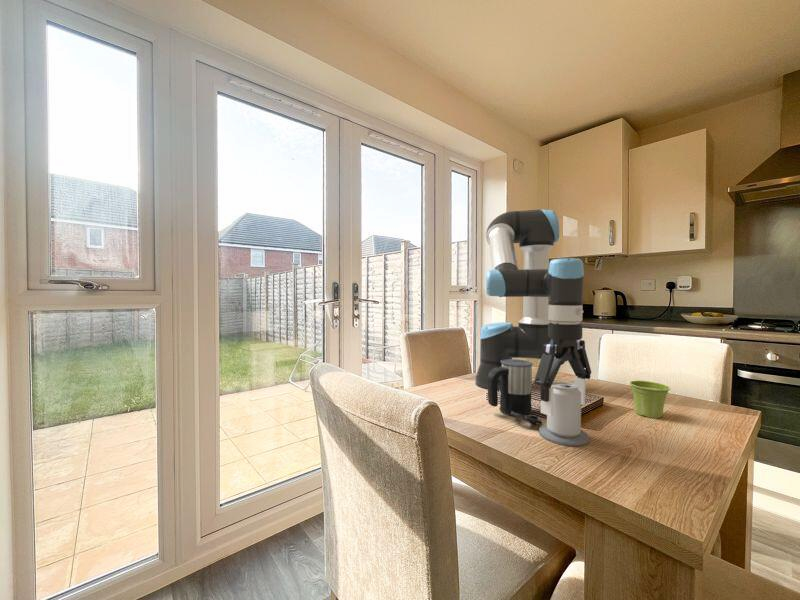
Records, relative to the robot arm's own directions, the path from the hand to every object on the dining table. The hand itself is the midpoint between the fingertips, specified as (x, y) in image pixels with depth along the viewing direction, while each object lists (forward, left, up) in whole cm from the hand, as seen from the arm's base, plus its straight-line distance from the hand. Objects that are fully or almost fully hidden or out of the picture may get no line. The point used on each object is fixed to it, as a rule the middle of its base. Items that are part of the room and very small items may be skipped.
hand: (563, 408), depth 83 cm
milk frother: (-14, +2, -7) cm, 16 cm away
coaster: (0, 0, -7) cm, 7 cm away
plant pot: (+5, +34, -7) cm, 35 cm away
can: (0, 0, -6) cm, 6 cm away
